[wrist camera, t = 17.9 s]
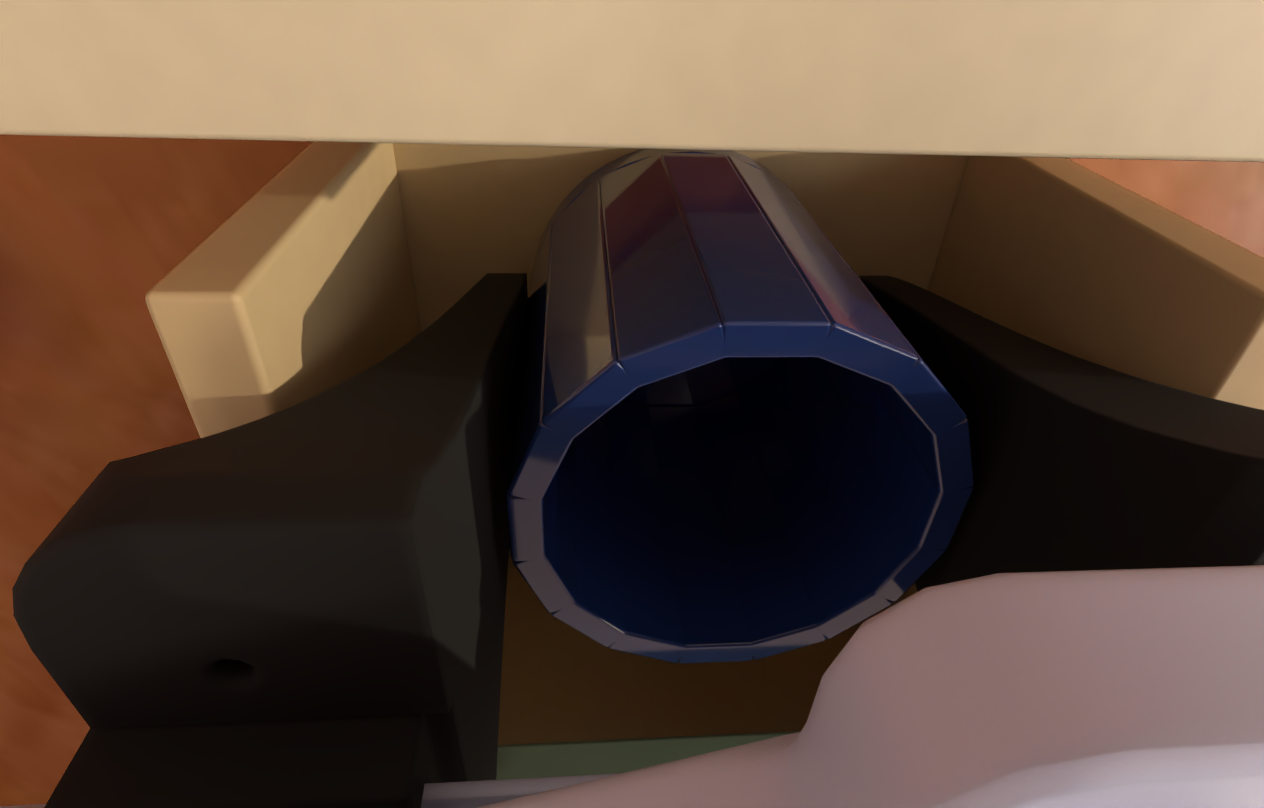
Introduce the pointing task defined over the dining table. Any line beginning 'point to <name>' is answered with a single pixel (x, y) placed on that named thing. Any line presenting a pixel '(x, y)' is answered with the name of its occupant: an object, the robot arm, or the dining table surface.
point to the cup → (719, 421)
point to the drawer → (667, 119)
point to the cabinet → (610, 754)
